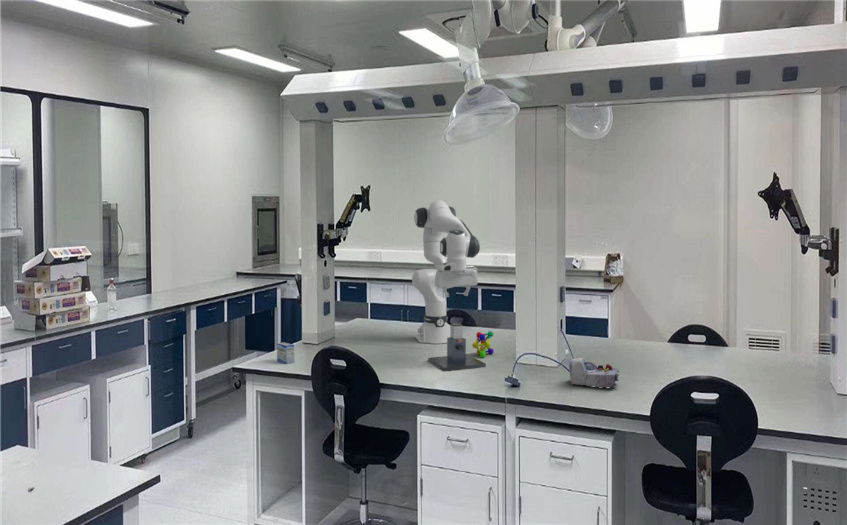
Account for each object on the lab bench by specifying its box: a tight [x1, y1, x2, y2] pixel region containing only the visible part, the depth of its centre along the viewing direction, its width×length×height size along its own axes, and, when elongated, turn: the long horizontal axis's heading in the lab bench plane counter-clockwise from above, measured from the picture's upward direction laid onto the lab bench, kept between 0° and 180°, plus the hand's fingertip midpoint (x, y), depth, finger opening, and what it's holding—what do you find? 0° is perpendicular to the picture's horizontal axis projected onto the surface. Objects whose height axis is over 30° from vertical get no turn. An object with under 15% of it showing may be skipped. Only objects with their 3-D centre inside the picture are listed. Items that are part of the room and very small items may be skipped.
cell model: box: [568, 357, 620, 388], centre depth 270 cm, size 13×11×20 cm
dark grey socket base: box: [427, 336, 487, 372], centre depth 304 cm, size 20×20×12 cm
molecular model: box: [472, 330, 495, 359], centre depth 320 cm, size 12×7×12 cm, turn 145°
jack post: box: [450, 322, 463, 340], centre depth 304 cm, size 4×4×17 cm
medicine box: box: [276, 341, 295, 365], centre depth 309 cm, size 8×4×9 cm, turn 47°
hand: (456, 296), depth 302 cm, fingers open, 8 cm apart
